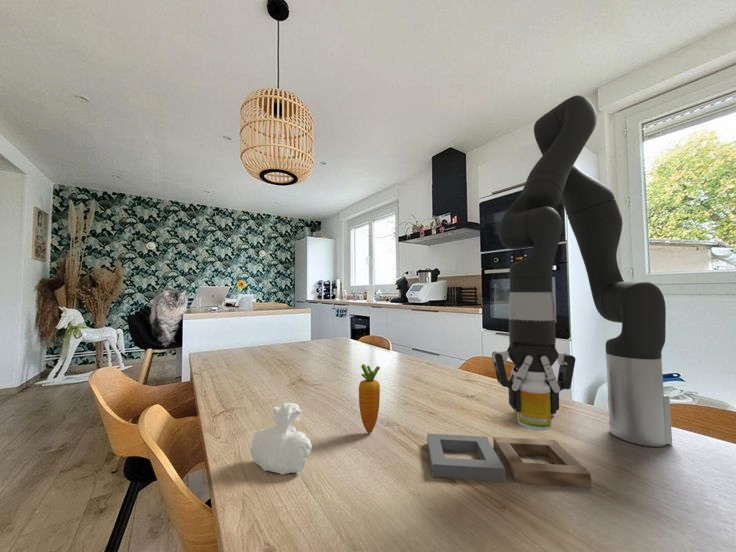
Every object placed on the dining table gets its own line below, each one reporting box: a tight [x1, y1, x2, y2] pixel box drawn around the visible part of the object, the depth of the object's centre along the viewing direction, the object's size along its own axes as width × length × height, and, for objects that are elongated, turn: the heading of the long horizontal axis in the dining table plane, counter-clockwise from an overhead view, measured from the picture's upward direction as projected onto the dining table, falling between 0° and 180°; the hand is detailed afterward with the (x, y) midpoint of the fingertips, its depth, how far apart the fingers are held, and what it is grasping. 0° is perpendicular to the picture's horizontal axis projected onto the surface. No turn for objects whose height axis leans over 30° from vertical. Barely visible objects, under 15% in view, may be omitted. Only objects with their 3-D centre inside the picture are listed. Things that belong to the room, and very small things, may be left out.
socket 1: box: [426, 433, 506, 482], centre depth 57 cm, size 12×12×2 cm
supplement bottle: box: [516, 371, 552, 432], centre depth 56 cm, size 5×5×10 cm
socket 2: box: [492, 436, 592, 488], centre depth 55 cm, size 12×12×2 cm
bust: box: [250, 401, 313, 476], centre depth 56 cm, size 12×8×11 cm
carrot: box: [358, 363, 381, 435], centre depth 68 cm, size 5×5×15 cm
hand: (533, 410), depth 56 cm, fingers closed on supplement bottle, 5 cm apart
